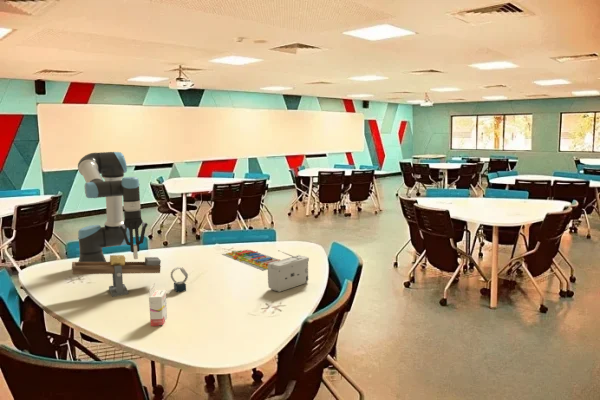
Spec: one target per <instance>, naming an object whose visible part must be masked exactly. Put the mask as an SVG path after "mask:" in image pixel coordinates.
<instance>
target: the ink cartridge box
mask: <svg viewBox="0 0 600 400" xmlns="http://www.w3.org/2000/svg"><path fill="white" fill-rule="evenodd" d="M148 302H149V303H148V304H149V318H150V320H149V321H150V327H160V326H159V325H163V326H164V324H165V323H166V321H165V320H167V319H168V310H167V309H168V307H167V290H166V289H162V290H161V289H160V290H158V289H157V290H155V283H153V284H152V285H151V287H149V290H148ZM166 318H167V319H166Z"/></svg>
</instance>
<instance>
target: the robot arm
mask: <svg viewBox="0 0 600 400" xmlns="http://www.w3.org/2000/svg"><path fill="white" fill-rule="evenodd" d="M77 170H78V173H79V174H80V175H81V176H83V178H84V180H85V184H84V195H85V197H86V198H88V199H99V198H105V203H106V221H105V222H104V226H102V227H101V225H100V224H93V225H92V224H91V225H87V226H85V227H82V228H80V229H79V230H78V232H77V234H78V235H77V240H78V247H79V258H78V261H77V262H107V259H106V257H105V254H104V253H103V248H109V247H110V248H111V247H112V248H113V247H119V246H124V245H127V246H130V252H131V253H133V259H134V260H138V259H139V257H138V256H139V255H138V252H140V249H141V248H140V245H141V244H143V243H144V238H145V233H146V229H147V227H148V225H149V224H148V223H147V222H145V221H143V219H142V211H141V210H140V209H141V199H140V198H141V197H140V196H141V195H140V183H139V181H140V180H139V178H138V177H137V176H125V173H127V172H128V168H127V161H126V157H125V155H124V154H123V152H119V151H108V152H107V151H106V152H104V151H103V152H91V153H87V154H86V155H84V156H83V157H82V158H80V160H79V161H78V164H77ZM124 176H125V177H124ZM123 210H124V211H123ZM141 226H142V227H141ZM140 227H141V232H139V228H140ZM133 231H134V232H133ZM133 233H134V234H135V235H134V234H133ZM139 233H140V235H139ZM134 236H135V237H134ZM134 238H135V244H134Z"/></svg>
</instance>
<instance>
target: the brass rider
mask: <svg viewBox="0 0 600 400" xmlns="http://www.w3.org/2000/svg"><path fill="white" fill-rule="evenodd" d="M109 262H110V264H109V266H119V265H121V266H125V262H126V257H125V255H120V254H118V255H116V254H115V255H114V254H113V255H109Z"/></svg>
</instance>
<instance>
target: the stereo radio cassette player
mask: <svg viewBox="0 0 600 400" xmlns="http://www.w3.org/2000/svg"><path fill="white" fill-rule="evenodd" d="M277 251H278V252H281V253H283V254H285V255H288V256H289V257H287V258H283V259H280V260H279V261H275V262H271V263H269V264H268V270H267V283H268V288H269V289H271V290H272V291H275V292H278V293H281V292H283V291H286V290H290V289H292V288H295V287H297V286H301V285H304V284H307V283H309V262H310V261H309V259H310V258H309V256H305V255H301V254H298V255H292V254H290V253H286V252H285V251H281V250H277Z"/></svg>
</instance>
